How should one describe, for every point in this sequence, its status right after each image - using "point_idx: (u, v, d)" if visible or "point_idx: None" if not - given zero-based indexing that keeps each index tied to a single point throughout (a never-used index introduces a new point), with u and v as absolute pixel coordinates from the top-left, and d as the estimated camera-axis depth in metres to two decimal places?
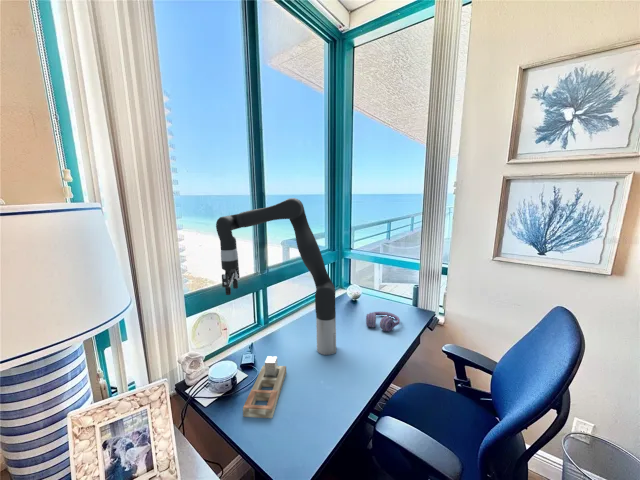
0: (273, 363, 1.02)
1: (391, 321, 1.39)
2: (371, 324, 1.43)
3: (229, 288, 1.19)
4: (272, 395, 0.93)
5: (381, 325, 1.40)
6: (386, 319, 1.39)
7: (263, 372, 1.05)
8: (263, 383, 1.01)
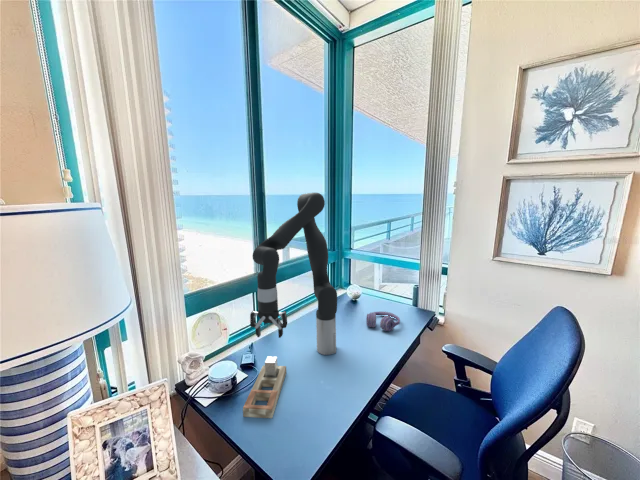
0: (273, 363, 1.02)
1: (391, 321, 1.39)
2: (371, 324, 1.43)
3: None
4: (272, 395, 0.93)
5: (381, 325, 1.40)
6: (386, 319, 1.39)
7: (263, 372, 1.05)
8: (263, 383, 1.01)
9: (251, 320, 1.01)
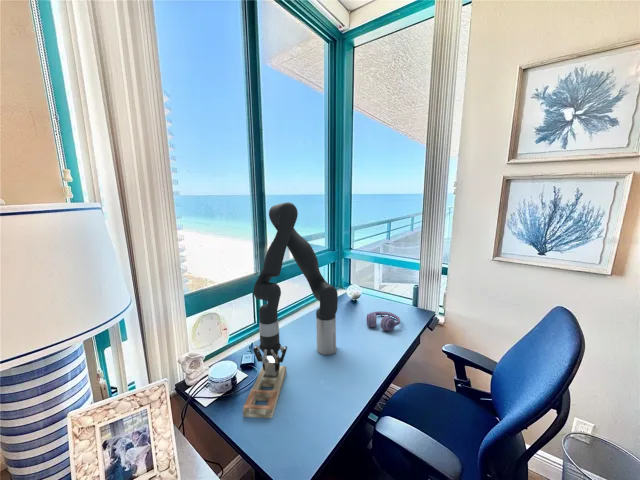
0: (273, 363, 1.02)
1: (392, 321, 1.39)
2: (372, 324, 1.43)
3: None
4: (272, 395, 0.93)
5: (382, 325, 1.40)
6: (387, 319, 1.40)
7: (263, 372, 1.05)
8: (263, 383, 1.01)
9: (256, 355, 1.03)
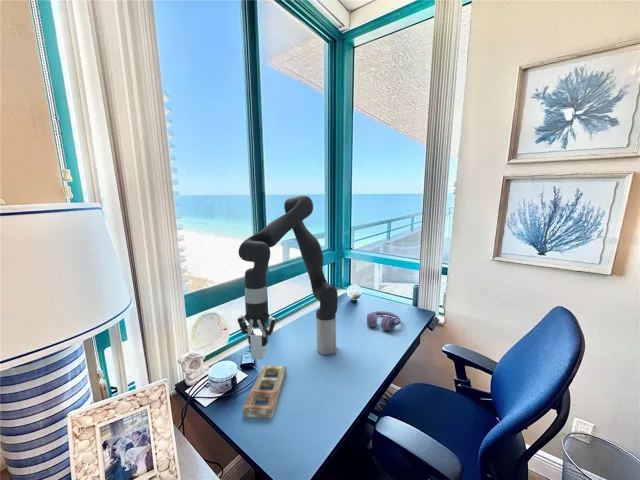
0: (260, 336, 0.89)
1: (392, 321, 1.39)
2: (372, 324, 1.43)
3: None
4: (272, 395, 0.93)
5: (382, 325, 1.40)
6: (387, 319, 1.40)
7: (263, 372, 1.05)
8: (263, 383, 1.01)
9: (241, 327, 0.90)
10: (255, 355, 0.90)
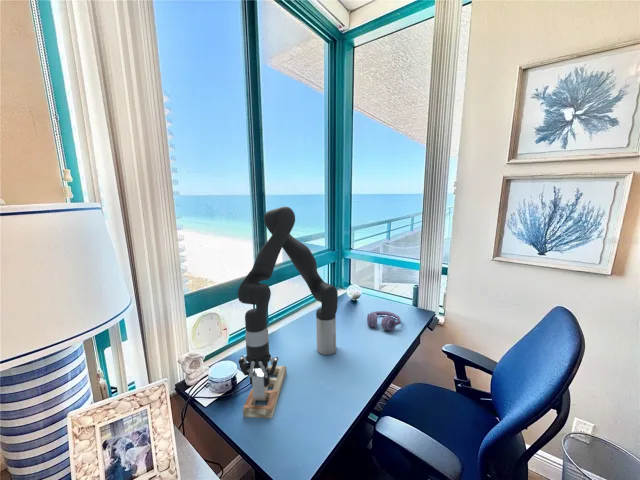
0: (262, 377, 0.88)
1: (392, 321, 1.40)
2: (372, 324, 1.43)
3: None
4: (272, 395, 0.93)
5: (382, 325, 1.40)
6: (387, 319, 1.40)
7: None
8: None
9: (242, 368, 0.88)
10: (257, 396, 0.89)
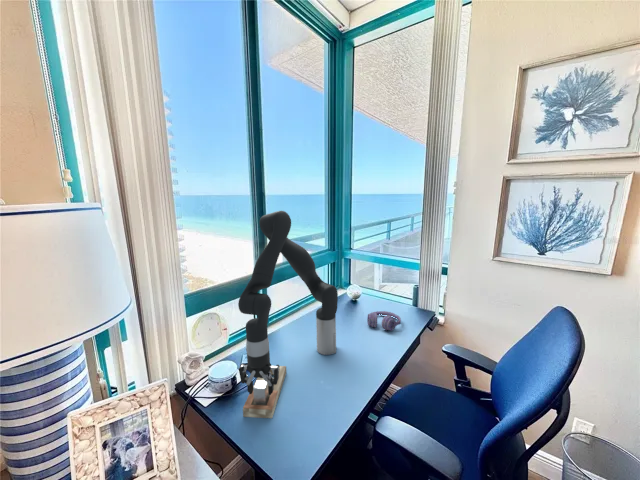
0: (263, 389, 0.88)
1: (393, 320, 1.40)
2: (373, 324, 1.43)
3: None
4: (272, 395, 0.93)
5: (383, 325, 1.40)
6: (388, 319, 1.40)
7: None
8: None
9: (241, 376, 0.89)
10: None
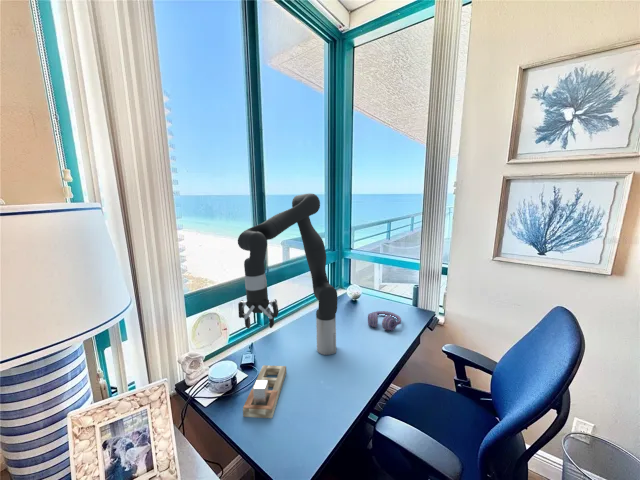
0: (263, 389, 0.88)
1: (393, 320, 1.40)
2: (373, 324, 1.43)
3: None
4: (272, 395, 0.93)
5: (383, 325, 1.40)
6: (388, 318, 1.40)
7: (263, 372, 1.05)
8: None
9: (239, 310, 0.94)
10: None
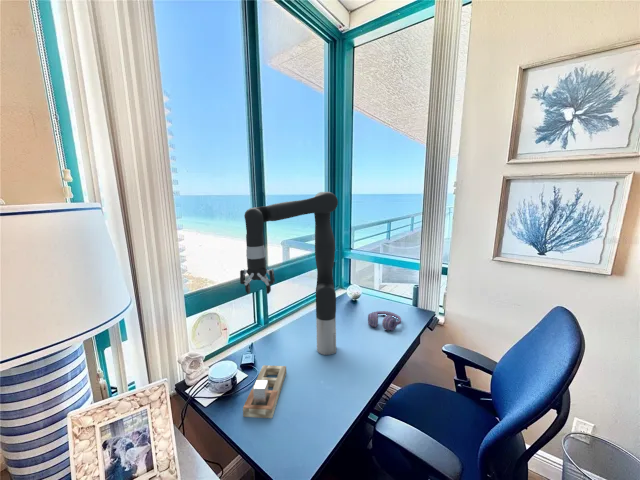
0: (263, 389, 0.88)
1: (393, 320, 1.40)
2: (373, 324, 1.43)
3: None
4: (272, 395, 0.93)
5: (384, 324, 1.40)
6: (388, 318, 1.40)
7: (263, 372, 1.05)
8: None
9: (241, 277, 1.09)
10: None
